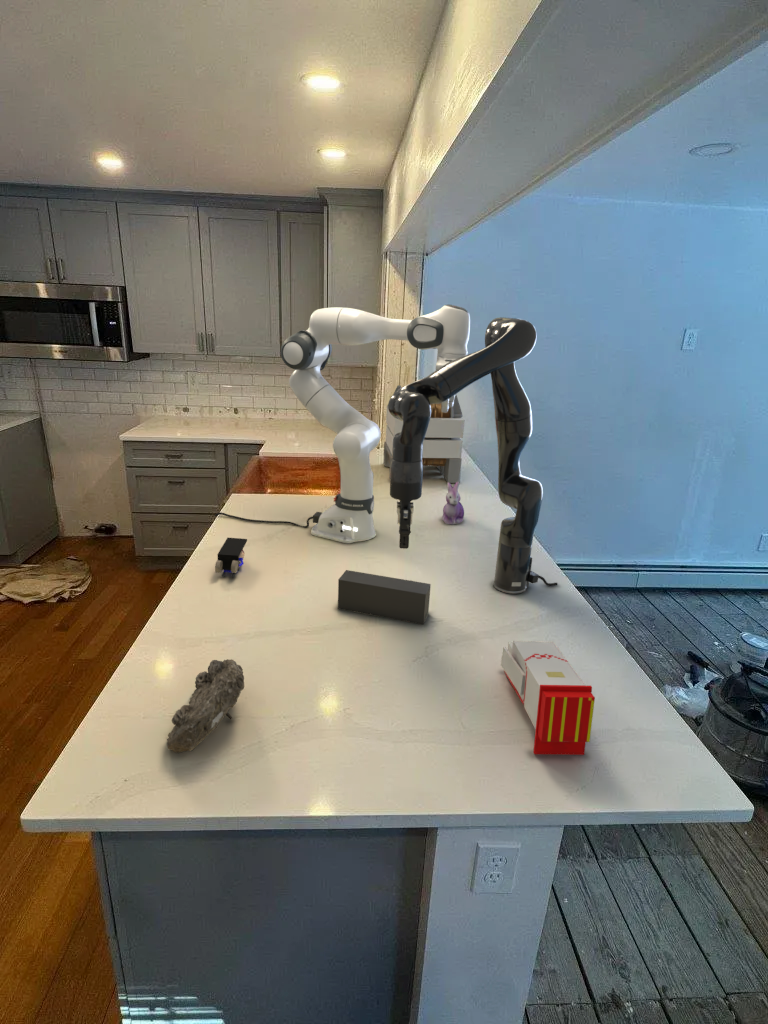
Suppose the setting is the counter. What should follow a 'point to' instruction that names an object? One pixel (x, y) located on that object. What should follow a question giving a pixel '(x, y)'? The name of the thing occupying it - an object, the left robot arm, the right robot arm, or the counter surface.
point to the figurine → (453, 506)
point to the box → (384, 596)
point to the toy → (550, 696)
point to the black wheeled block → (230, 556)
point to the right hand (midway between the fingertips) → (403, 540)
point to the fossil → (206, 705)
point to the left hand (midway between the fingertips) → (447, 409)
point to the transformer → (434, 440)
